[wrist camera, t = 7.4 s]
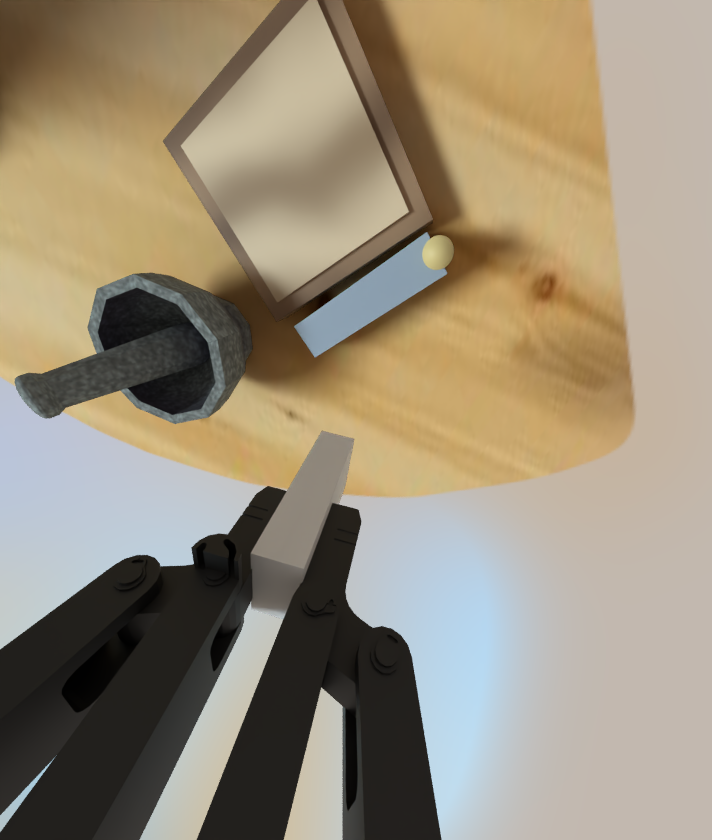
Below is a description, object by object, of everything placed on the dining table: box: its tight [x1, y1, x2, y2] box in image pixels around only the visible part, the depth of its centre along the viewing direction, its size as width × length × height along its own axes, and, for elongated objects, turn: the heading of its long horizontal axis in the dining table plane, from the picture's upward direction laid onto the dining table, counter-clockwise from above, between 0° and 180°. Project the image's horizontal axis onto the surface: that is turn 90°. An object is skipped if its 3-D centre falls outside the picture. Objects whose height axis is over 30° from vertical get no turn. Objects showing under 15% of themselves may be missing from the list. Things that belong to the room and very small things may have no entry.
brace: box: [294, 232, 454, 357], centre depth 20 cm, size 11×2×4 cm, turn 123°
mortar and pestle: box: [15, 273, 253, 424], centre depth 21 cm, size 11×9×12 cm
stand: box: [163, 0, 433, 322], centre depth 19 cm, size 12×12×2 cm
